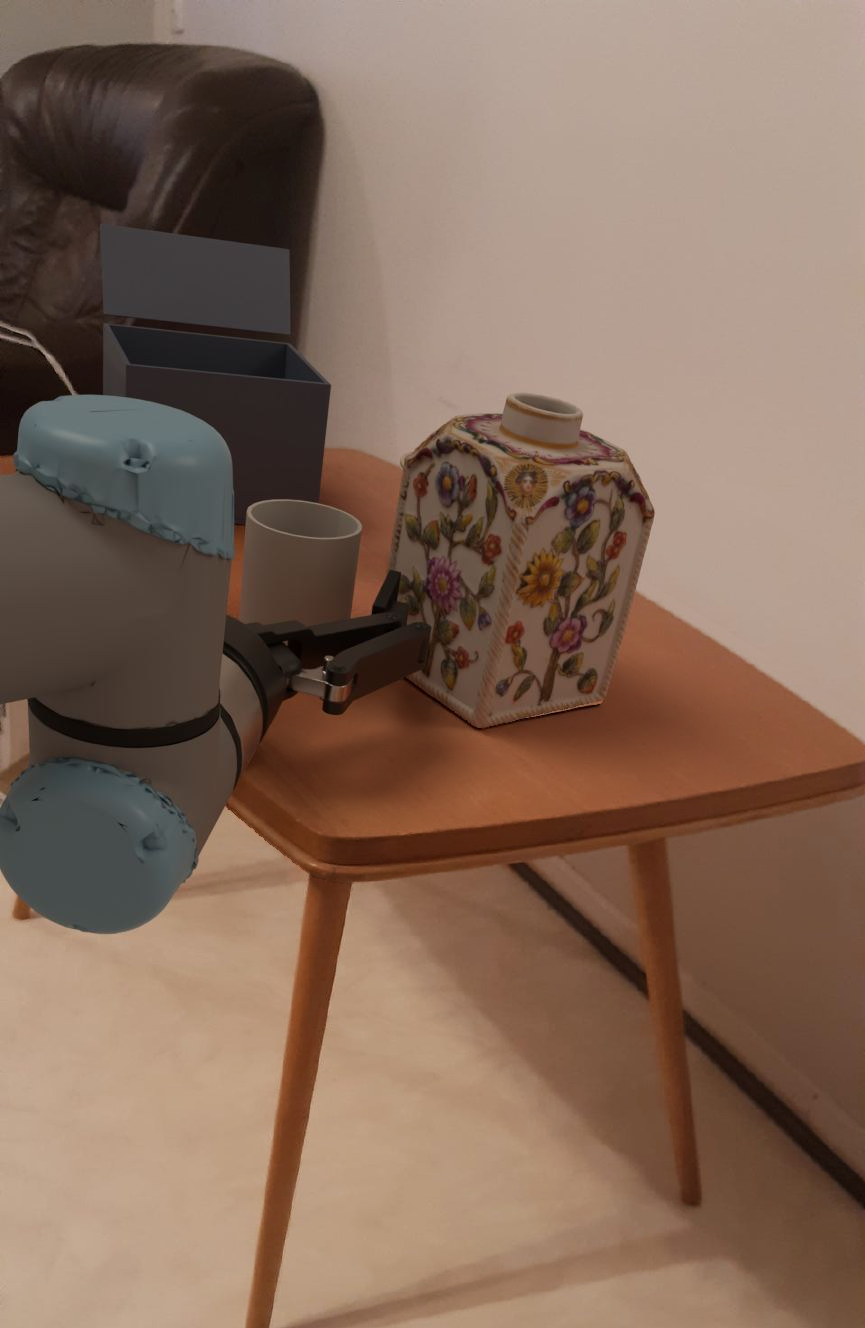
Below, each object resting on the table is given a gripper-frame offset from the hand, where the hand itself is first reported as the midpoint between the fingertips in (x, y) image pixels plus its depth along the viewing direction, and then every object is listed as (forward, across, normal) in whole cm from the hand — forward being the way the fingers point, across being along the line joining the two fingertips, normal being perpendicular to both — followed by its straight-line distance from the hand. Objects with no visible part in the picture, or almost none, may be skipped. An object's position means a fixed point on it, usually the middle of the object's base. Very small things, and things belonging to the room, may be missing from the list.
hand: (287, 569), depth 77 cm
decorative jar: (+3, +14, -6) cm, 15 cm away
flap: (+37, -17, +9) cm, 42 cm away
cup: (+2, 0, -6) cm, 6 cm away
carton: (+30, -13, -6) cm, 33 cm away
